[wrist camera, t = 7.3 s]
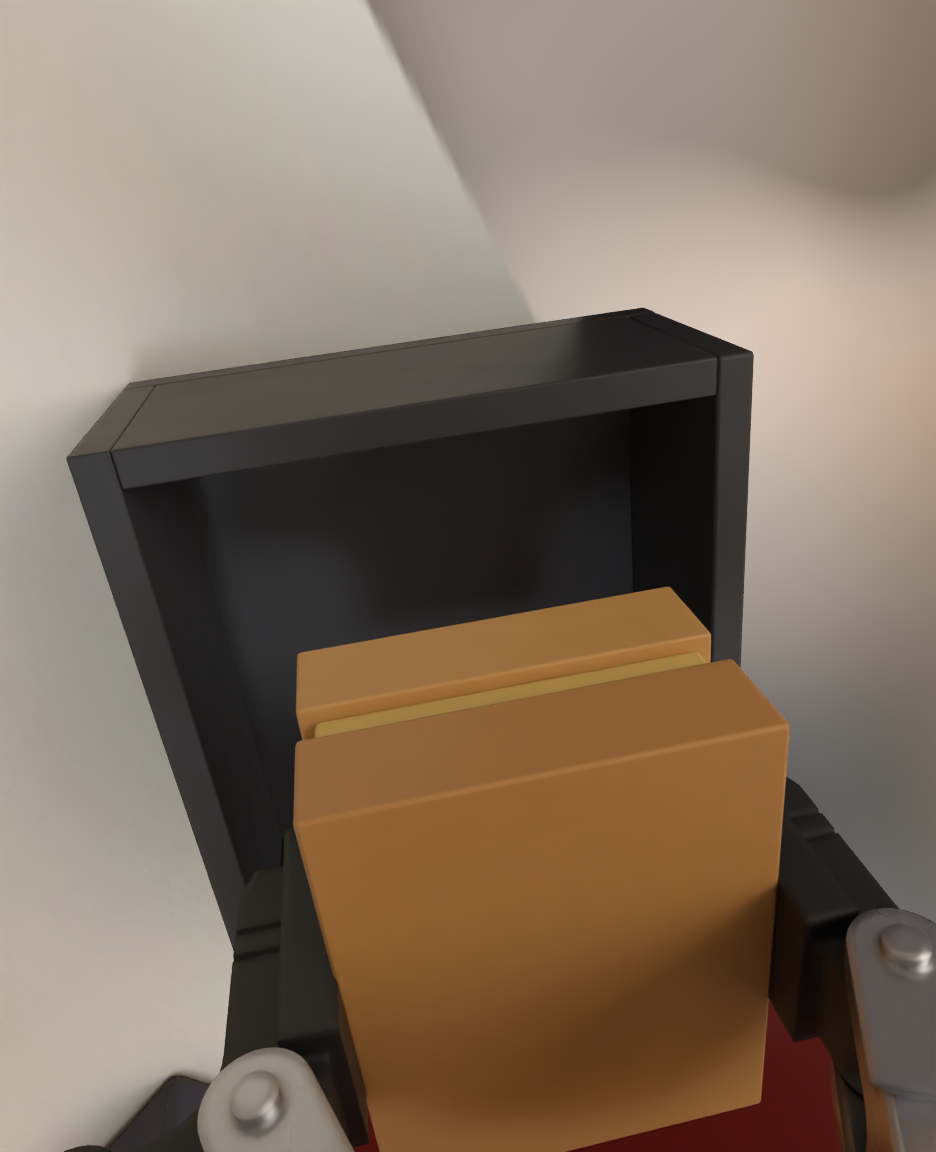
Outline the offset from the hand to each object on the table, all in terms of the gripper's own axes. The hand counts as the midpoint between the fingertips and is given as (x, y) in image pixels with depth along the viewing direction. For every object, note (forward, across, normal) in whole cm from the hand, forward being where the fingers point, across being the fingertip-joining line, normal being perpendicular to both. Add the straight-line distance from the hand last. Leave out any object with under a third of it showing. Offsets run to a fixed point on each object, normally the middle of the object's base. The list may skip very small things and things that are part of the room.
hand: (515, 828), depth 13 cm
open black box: (+12, 0, +2) cm, 13 cm away
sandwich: (+1, 0, 0) cm, 1 cm away
